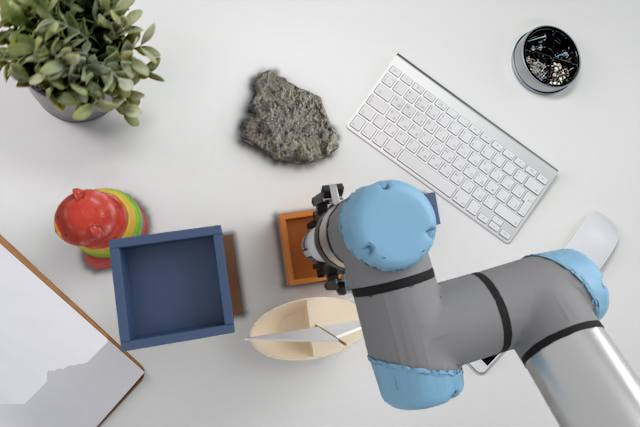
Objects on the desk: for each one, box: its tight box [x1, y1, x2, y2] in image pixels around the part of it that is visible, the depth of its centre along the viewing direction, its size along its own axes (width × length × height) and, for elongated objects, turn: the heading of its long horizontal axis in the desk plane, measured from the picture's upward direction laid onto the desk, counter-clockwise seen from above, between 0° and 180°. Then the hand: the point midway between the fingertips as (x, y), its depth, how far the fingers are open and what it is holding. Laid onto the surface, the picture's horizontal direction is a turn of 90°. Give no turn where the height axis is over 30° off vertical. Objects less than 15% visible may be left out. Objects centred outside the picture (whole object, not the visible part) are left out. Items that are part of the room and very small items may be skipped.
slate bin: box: [109, 224, 244, 353], centre depth 63 cm, size 12×12×34 cm
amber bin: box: [276, 209, 342, 287], centre depth 81 cm, size 11×11×4 cm
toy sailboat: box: [244, 296, 364, 362], centre depth 69 cm, size 21×25×9 cm
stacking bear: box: [53, 187, 149, 271], centre depth 69 cm, size 11×10×18 cm
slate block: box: [423, 191, 441, 226], centre depth 83 cm, size 5×5×5 cm
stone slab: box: [240, 69, 340, 165], centre depth 83 cm, size 12×17×3 cm
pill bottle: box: [302, 227, 325, 263], centre depth 75 cm, size 5×5×10 cm
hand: (318, 245), depth 80 cm, fingers closed on pill bottle, 5 cm apart
